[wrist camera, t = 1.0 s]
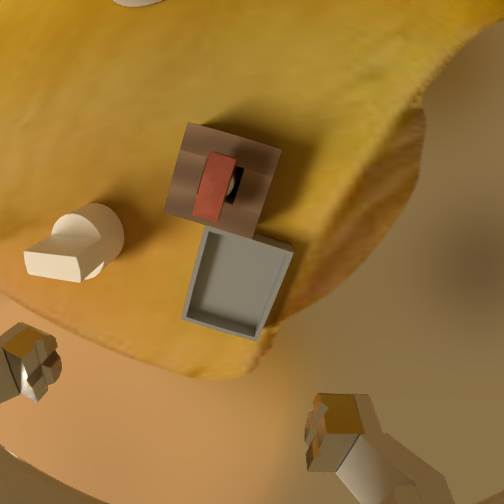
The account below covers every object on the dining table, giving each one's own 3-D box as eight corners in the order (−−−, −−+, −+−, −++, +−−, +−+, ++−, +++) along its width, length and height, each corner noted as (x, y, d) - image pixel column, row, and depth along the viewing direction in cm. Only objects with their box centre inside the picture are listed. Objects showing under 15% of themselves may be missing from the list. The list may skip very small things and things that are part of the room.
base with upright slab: (122, 203, 38) (74, 229, 26) (126, 264, 41) (87, 306, 30) (71, 202, 38) (18, 226, 27) (77, 259, 41) (32, 295, 30)
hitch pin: (222, 147, 35) (206, 150, 25) (246, 155, 35) (239, 160, 25) (208, 193, 37) (188, 214, 27) (231, 200, 37) (219, 224, 27)
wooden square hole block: (200, 125, 34) (188, 122, 28) (279, 148, 34) (282, 150, 29) (178, 201, 37) (164, 212, 32) (253, 224, 38) (251, 239, 32)
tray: (209, 218, 38) (205, 225, 35) (291, 244, 39) (293, 253, 36) (186, 307, 43) (181, 318, 40) (257, 329, 44) (257, 341, 41)
